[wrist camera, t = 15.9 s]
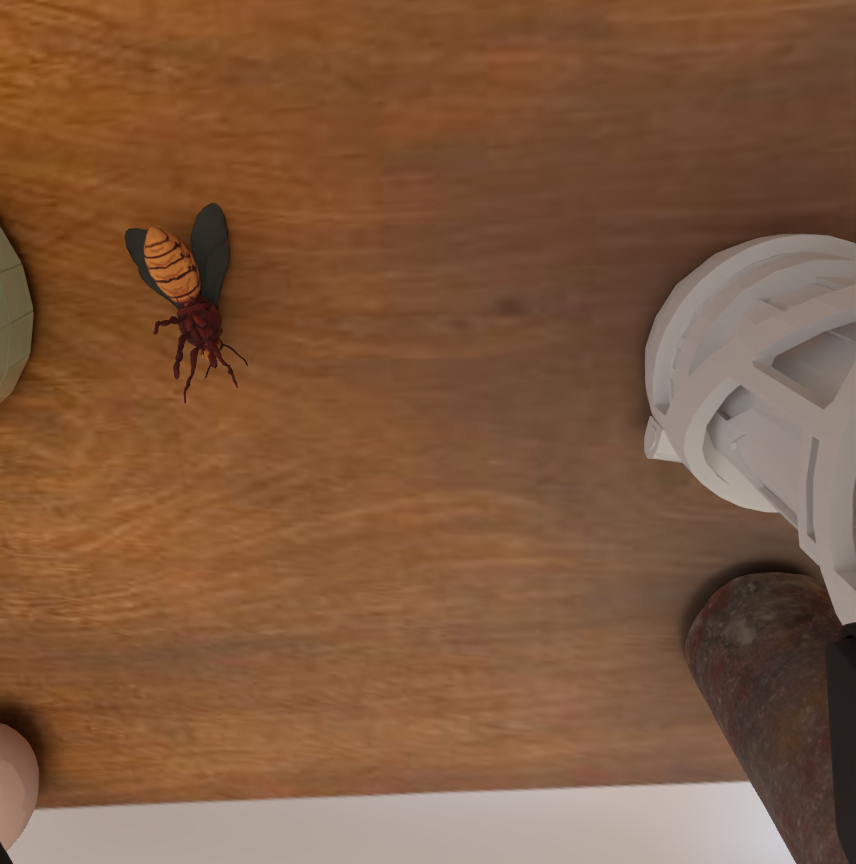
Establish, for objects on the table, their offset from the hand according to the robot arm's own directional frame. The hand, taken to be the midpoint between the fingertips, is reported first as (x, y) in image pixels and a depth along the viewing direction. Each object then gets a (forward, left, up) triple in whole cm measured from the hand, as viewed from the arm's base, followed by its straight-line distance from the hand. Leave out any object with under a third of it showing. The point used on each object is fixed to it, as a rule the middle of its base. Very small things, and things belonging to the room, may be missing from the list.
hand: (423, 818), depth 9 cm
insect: (+3, -7, -20) cm, 21 cm away
